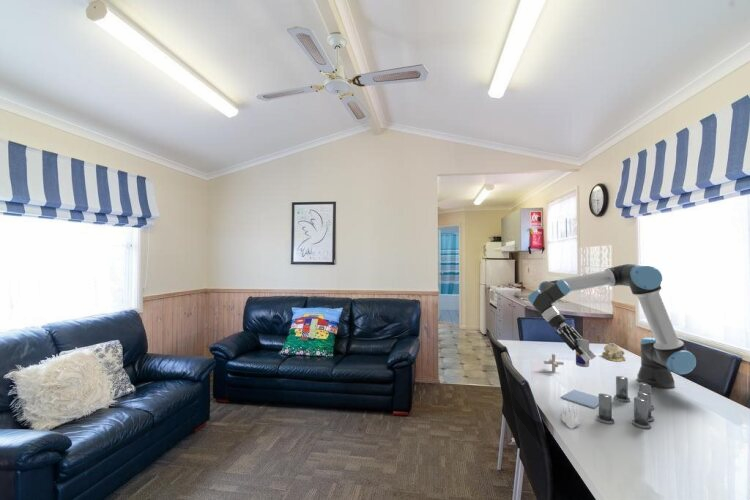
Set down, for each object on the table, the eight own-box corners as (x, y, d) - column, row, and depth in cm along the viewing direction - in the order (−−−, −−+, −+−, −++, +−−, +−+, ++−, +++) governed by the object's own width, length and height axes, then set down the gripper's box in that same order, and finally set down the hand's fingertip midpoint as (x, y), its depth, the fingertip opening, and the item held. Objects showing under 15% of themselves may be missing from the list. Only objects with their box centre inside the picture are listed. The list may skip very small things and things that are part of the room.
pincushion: (560, 414, 143) (560, 401, 143) (577, 417, 141) (577, 403, 141) (562, 427, 132) (562, 413, 132) (580, 431, 130) (580, 416, 130)
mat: (560, 398, 159) (560, 396, 159) (573, 390, 167) (573, 389, 167) (594, 408, 148) (594, 407, 148) (606, 400, 156) (606, 399, 156)
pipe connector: (566, 375, 189) (566, 357, 189) (546, 374, 191) (546, 356, 191) (560, 369, 198) (560, 352, 199) (541, 368, 200) (541, 351, 201)
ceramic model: (630, 361, 212) (630, 345, 213) (613, 362, 211) (613, 346, 212) (612, 355, 226) (612, 340, 227) (597, 355, 225) (596, 340, 226)
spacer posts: (585, 417, 140) (585, 392, 140) (616, 395, 161) (616, 374, 162) (642, 436, 125) (642, 409, 125) (668, 410, 146) (668, 386, 146)
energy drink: (573, 363, 160) (572, 338, 160) (583, 363, 161) (583, 338, 161) (580, 367, 155) (580, 341, 155) (592, 367, 155) (591, 340, 155)
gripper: (557, 320, 176) (593, 359, 163) (539, 324, 165) (576, 367, 151) (568, 311, 172) (605, 351, 158) (550, 315, 160) (589, 358, 147)
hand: (591, 359), depth 155 cm, fingers closed on energy drink, 5 cm apart
